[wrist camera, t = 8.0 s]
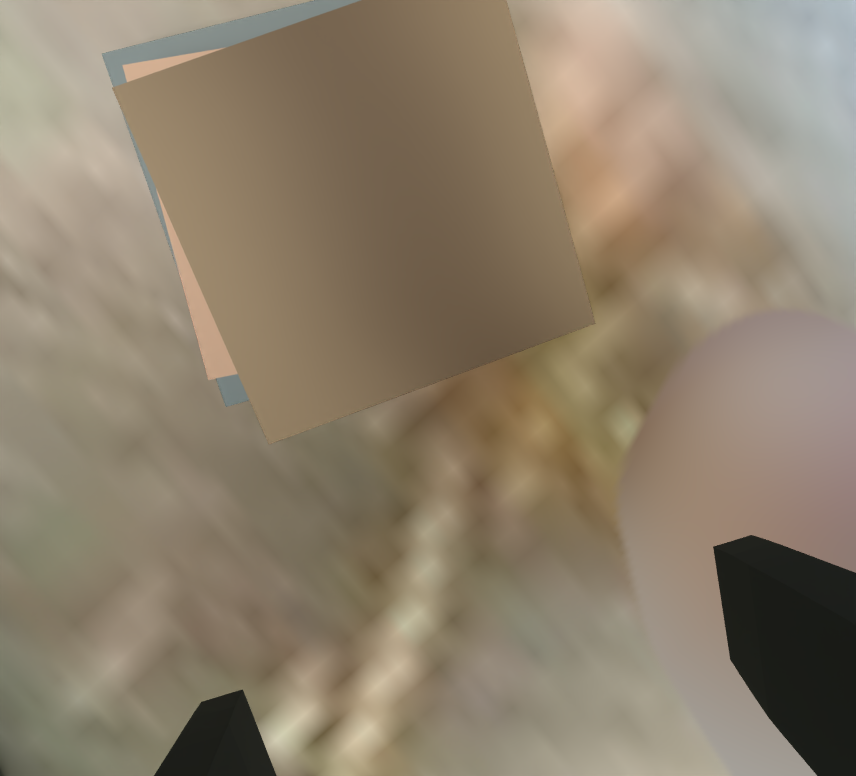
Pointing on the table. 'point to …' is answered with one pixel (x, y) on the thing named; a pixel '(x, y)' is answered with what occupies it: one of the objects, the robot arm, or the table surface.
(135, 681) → the table surface
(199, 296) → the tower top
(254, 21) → the tower base
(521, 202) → the walnut cube
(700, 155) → the table surface
